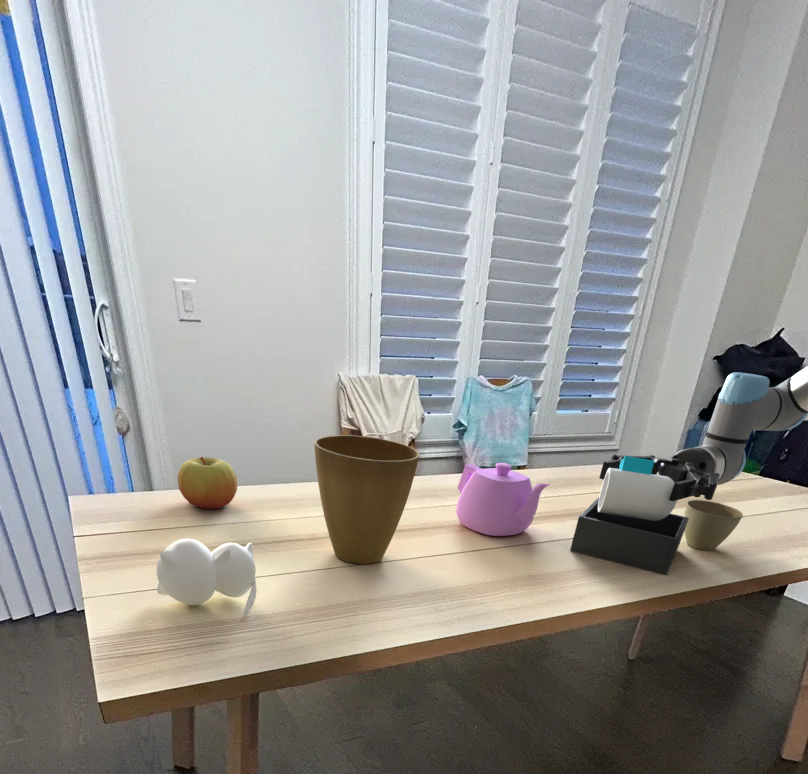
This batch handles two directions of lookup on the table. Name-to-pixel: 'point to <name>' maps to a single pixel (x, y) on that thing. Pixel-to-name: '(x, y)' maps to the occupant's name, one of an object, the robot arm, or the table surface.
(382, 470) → the plant pot
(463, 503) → the teapot
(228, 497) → the apple
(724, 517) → the flower pot
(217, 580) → the cat figurine
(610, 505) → the mug
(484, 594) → the table surface
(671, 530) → the open storage box
